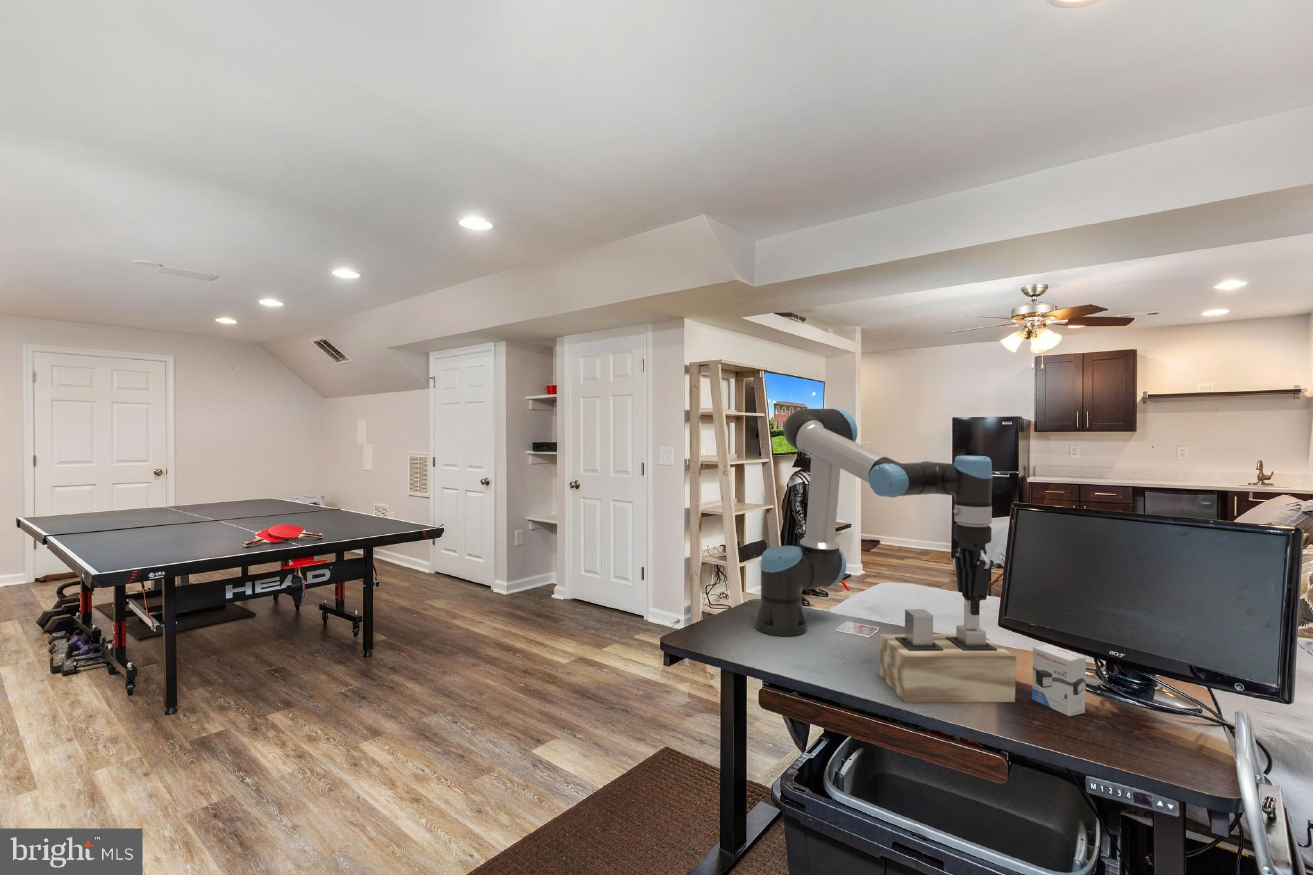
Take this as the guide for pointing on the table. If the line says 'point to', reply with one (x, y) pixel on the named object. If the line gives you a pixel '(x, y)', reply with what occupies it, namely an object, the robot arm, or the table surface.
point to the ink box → (1059, 679)
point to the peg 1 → (918, 628)
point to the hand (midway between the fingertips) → (971, 627)
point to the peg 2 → (970, 636)
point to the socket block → (947, 670)
